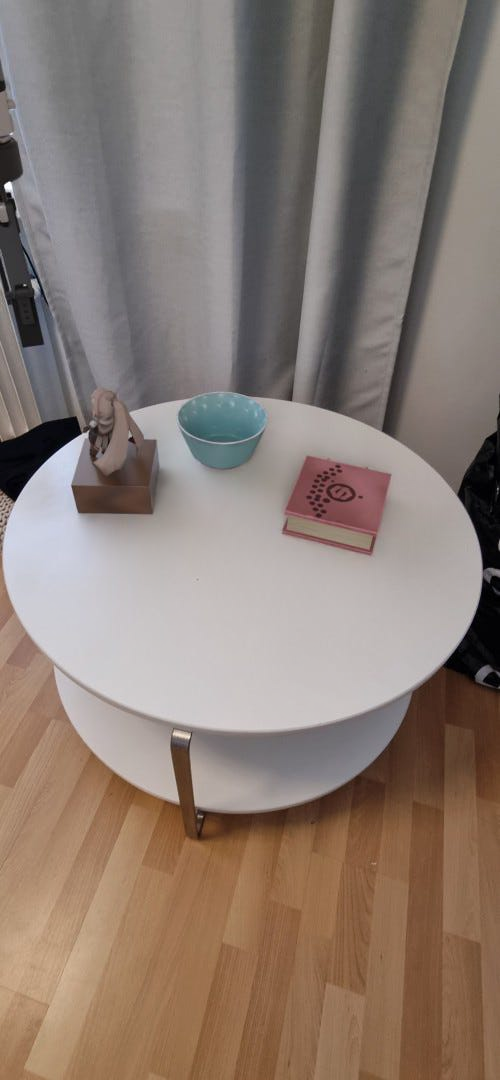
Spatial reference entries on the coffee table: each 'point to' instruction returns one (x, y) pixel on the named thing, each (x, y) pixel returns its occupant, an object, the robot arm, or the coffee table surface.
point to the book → (337, 505)
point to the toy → (111, 431)
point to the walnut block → (117, 482)
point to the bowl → (222, 427)
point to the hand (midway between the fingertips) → (24, 323)
